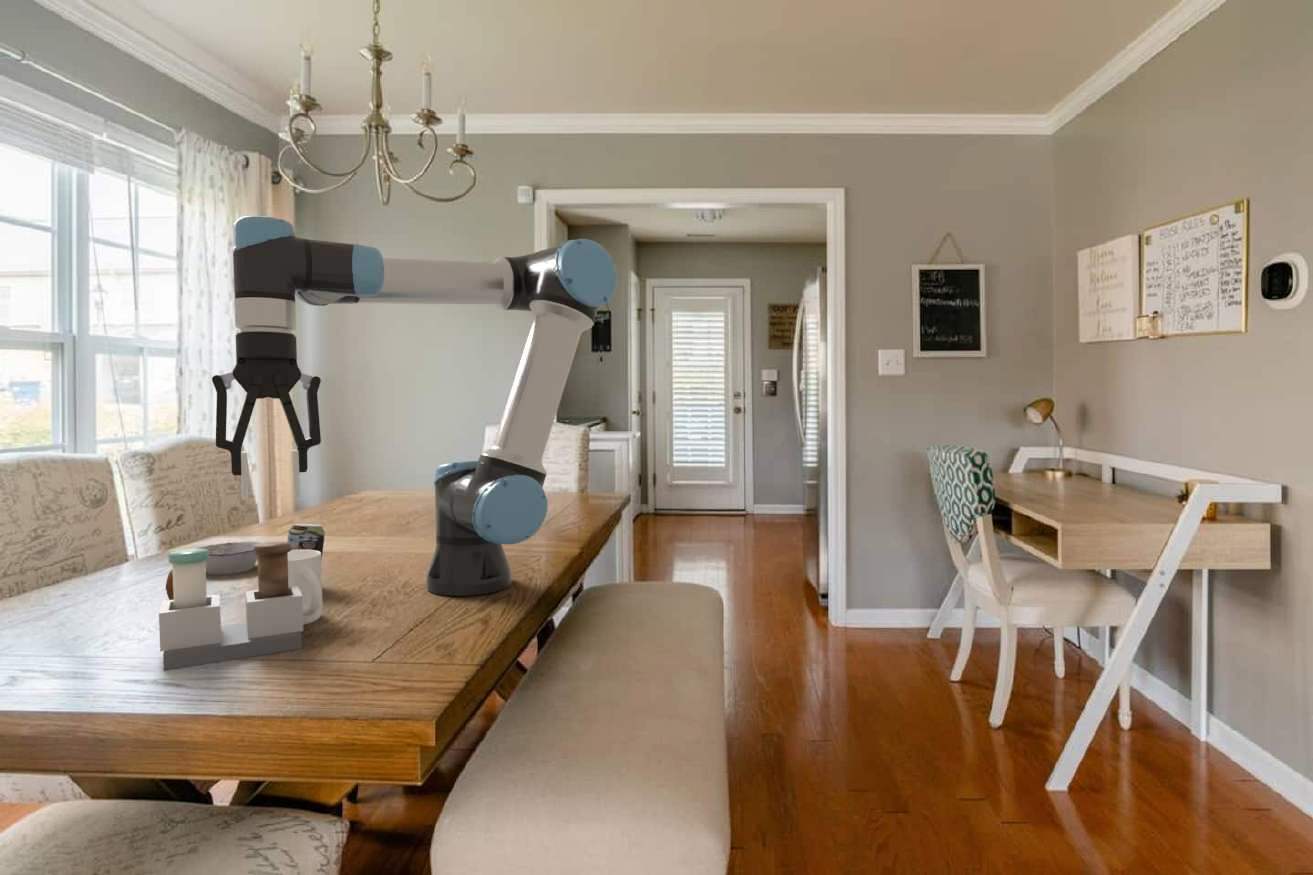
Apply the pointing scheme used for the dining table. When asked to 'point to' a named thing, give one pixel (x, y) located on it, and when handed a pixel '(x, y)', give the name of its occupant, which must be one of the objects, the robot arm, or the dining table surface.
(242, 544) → the bowl
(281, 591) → the walnut plug
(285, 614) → the white plug holder
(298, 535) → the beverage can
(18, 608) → the dining table surface
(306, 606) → the mug
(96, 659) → the dining table surface
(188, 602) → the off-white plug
